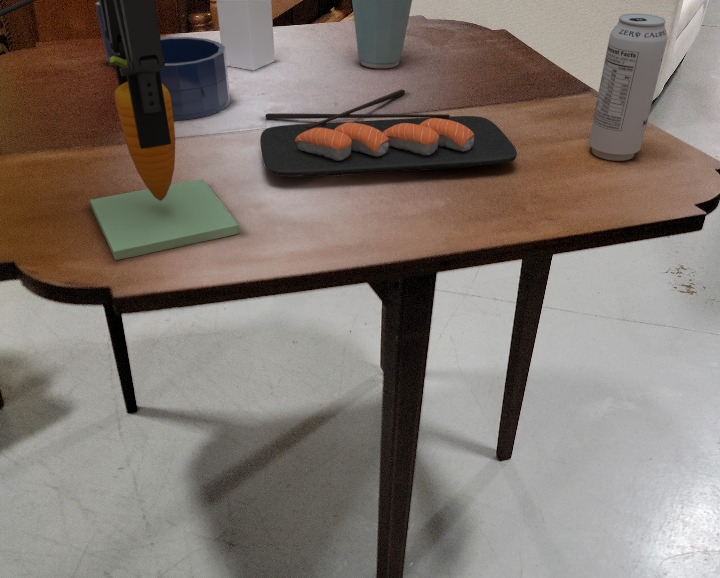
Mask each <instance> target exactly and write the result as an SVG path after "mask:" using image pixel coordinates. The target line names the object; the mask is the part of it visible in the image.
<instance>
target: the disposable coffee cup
mask: <svg viewBox="0 0 720 578" xmlns="http://www.w3.org/2000/svg"><path fill="white" fill-rule="evenodd" d="M351 3H352V12H353V20H354V29H355V38H356V47H357V55H358V60H359V63H360V65H362V66H363V67H366V68H371V69H391V68H395V67H397V66H399V65H400V61H401V60H402V57H403V56H402V55H403V51H404V45H405V40H406V35H407V29H408V24H409V19H410V13H411V8H412V3H413V0H351Z"/></svg>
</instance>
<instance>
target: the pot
mask: <svg viewBox="0 0 720 578" xmlns="http://www.w3.org/2000/svg"><path fill="white" fill-rule="evenodd" d="M160 39H161V45H162V52H163V58H164V60H165V68H164V69H161V70H160V76H161V82H162V84H163V85H164V86H165V87H166V88H167V89H168V91H169V94H170V97H171V104H172V112H173V120H174V121H185V120H195V119H199V118H204V117H208V116H211V115H215V114H217V113H220V112H221V111H223V110H225V109H226V108H227V107H228V106H229V105H230V102H231V98H230V96H231V91H230V82H229V72H228V71H229V70H228V66H227V61H226V51H225V47H224V46H223V45H222V44H221V42H219V41H216V40H212V39H208V38H202V37H191V36H170V37H169V36H168V37H160Z"/></svg>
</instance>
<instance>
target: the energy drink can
mask: <svg viewBox="0 0 720 578" xmlns="http://www.w3.org/2000/svg"><path fill="white" fill-rule="evenodd" d="M666 22H667V20H666V18H664V17H662V16H659V15H656V14H649V13H624V14H621V15H619V16H618V21H617V23H616V24H615V26H614V27H613V28H612V30H611V31H610V32H609V38H608V42H607V46H606V47H607V48H606V53H605V58H604V63H603V68H602V72H601V78H600V82H599V88H598V93H597V97H596V98H597V99H596V102H595V108H594V112H593V118H592V122H591V123H592V124H591V128H590V133H589V139H588V145H589V146H590V147H591V153H592V154H593V155H594V156H596V157H598V158H600V159H603V160H608V161H615V162H619V161H621V162H622V161H628V160H631V159H633V158H634V156H635V154H637V153H638V152H639V151H641V149H642V145H643V140H644V136H645V131H646V129H647V124H648V120H649V117H650V112H651V108H652V104H653V100H654V96H655V92H656V87H657V83H658V79H659V75H660V71H661V67H662V65H663V64H662V63H663V59H664V56H665V51H666V47H667V42H668V39H669V37H668V34H667V30H666V26H665V25H666Z"/></svg>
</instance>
